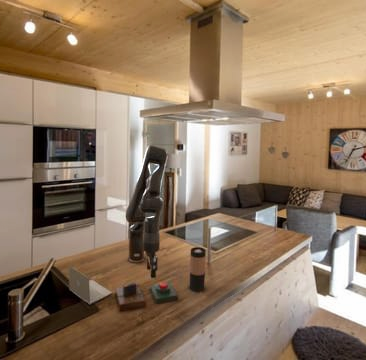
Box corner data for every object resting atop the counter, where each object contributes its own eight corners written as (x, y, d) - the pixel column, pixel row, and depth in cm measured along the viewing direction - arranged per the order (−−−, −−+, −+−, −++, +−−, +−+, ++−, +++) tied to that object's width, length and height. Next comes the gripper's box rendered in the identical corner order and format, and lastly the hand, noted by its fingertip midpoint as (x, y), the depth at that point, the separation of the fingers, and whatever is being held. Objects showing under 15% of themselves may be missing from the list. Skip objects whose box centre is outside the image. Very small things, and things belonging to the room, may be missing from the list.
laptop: (112, 294, 134) (112, 268, 132) (89, 305, 125) (88, 278, 123) (91, 280, 146) (91, 257, 144) (69, 290, 137) (68, 265, 135)
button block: (150, 289, 139) (150, 282, 138) (169, 286, 142) (169, 279, 141) (156, 303, 128) (156, 295, 127) (177, 299, 131) (177, 291, 130)
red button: (158, 286, 135) (158, 282, 135) (165, 285, 137) (165, 281, 136) (160, 290, 132) (160, 286, 132) (167, 288, 133) (168, 285, 133)
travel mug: (186, 285, 143) (187, 248, 141) (200, 282, 146) (201, 246, 143) (193, 293, 137) (194, 254, 134) (207, 290, 140) (208, 251, 137)
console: (116, 293, 135) (115, 287, 134) (138, 290, 138) (138, 284, 138) (119, 311, 121) (119, 304, 121) (144, 306, 125) (144, 300, 124)
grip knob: (135, 291, 132) (135, 281, 131) (136, 293, 130) (136, 283, 129) (123, 294, 128) (122, 285, 128) (124, 296, 127) (124, 286, 126)
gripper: (163, 245, 123) (162, 279, 126) (155, 234, 137) (155, 265, 139) (146, 246, 121) (146, 281, 123) (140, 235, 134) (140, 267, 137)
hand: (151, 273), depth 131 cm, fingers open, 8 cm apart
